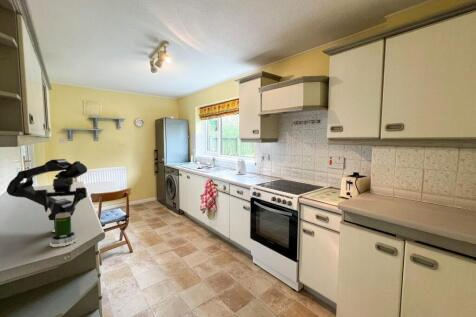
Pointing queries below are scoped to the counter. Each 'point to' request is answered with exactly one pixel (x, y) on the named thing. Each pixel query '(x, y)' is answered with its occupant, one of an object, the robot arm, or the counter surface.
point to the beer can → (63, 225)
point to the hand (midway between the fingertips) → (59, 210)
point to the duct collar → (64, 240)
